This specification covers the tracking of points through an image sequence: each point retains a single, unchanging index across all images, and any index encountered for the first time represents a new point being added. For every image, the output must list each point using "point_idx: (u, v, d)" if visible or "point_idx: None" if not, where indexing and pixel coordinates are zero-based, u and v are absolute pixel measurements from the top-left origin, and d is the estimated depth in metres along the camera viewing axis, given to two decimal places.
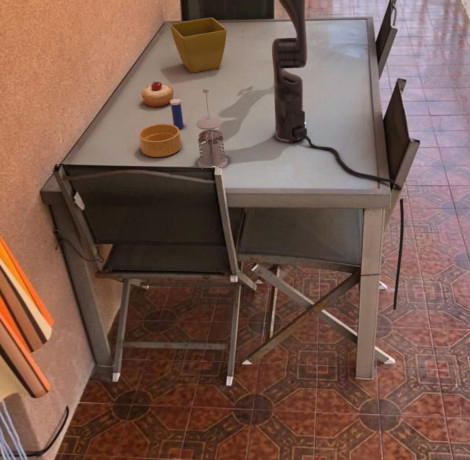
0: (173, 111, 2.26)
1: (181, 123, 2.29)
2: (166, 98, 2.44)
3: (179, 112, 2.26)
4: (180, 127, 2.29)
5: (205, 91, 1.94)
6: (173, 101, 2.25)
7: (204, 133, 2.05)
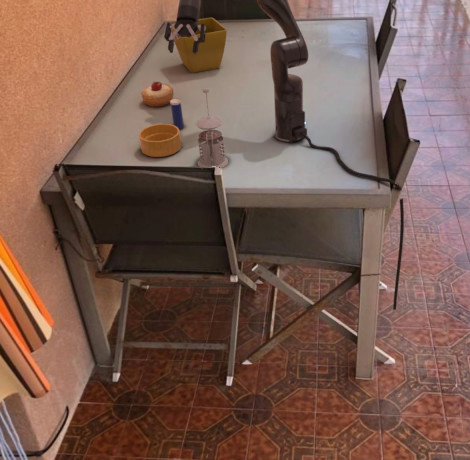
0: (173, 111, 2.26)
1: (181, 123, 2.29)
2: (166, 98, 2.44)
3: (179, 112, 2.26)
4: (180, 127, 2.29)
5: (205, 91, 1.94)
6: (173, 101, 2.25)
7: (204, 133, 2.05)
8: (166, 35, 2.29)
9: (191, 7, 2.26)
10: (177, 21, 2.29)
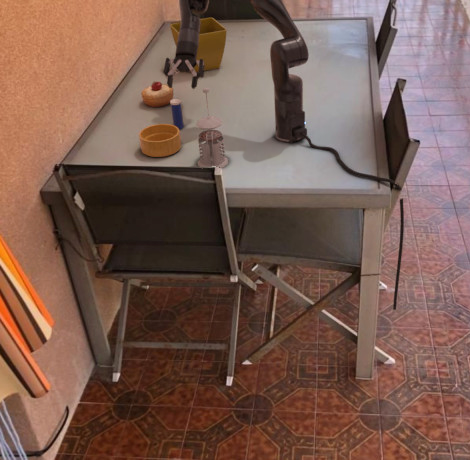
0: (173, 111, 2.26)
1: (181, 123, 2.29)
2: (166, 98, 2.44)
3: (179, 112, 2.26)
4: (180, 127, 2.29)
5: (205, 91, 1.94)
6: (173, 101, 2.25)
7: (204, 133, 2.05)
8: (165, 70, 2.31)
9: (190, 43, 2.29)
10: (176, 56, 2.31)
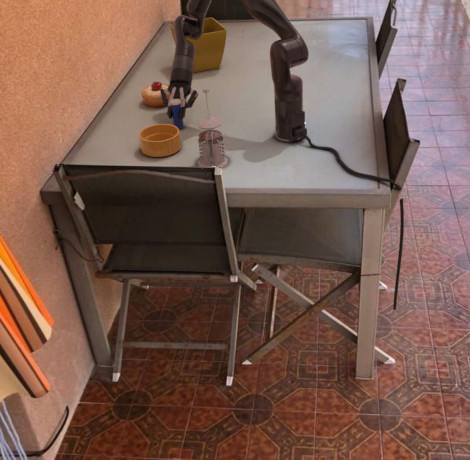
0: (173, 111, 2.26)
1: (181, 123, 2.29)
2: None
3: (179, 112, 2.26)
4: (180, 127, 2.29)
5: (205, 91, 1.94)
6: (173, 101, 2.25)
7: (204, 133, 2.05)
8: (165, 101, 2.27)
9: (184, 70, 2.26)
10: (170, 84, 2.28)
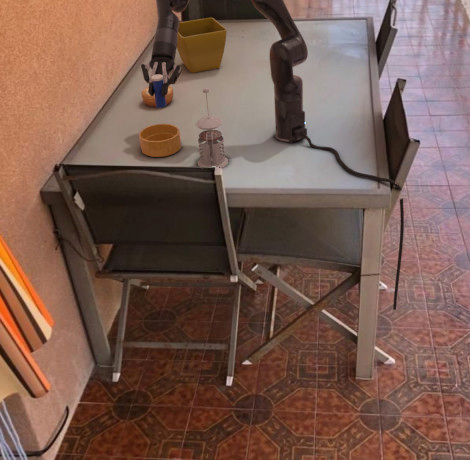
0: (155, 88, 2.09)
1: (164, 101, 2.12)
2: (166, 98, 2.44)
3: (161, 89, 2.09)
4: (162, 105, 2.12)
5: (205, 91, 1.94)
6: (154, 77, 2.08)
7: (204, 133, 2.05)
8: (146, 77, 2.10)
9: (167, 44, 2.09)
10: (152, 58, 2.11)
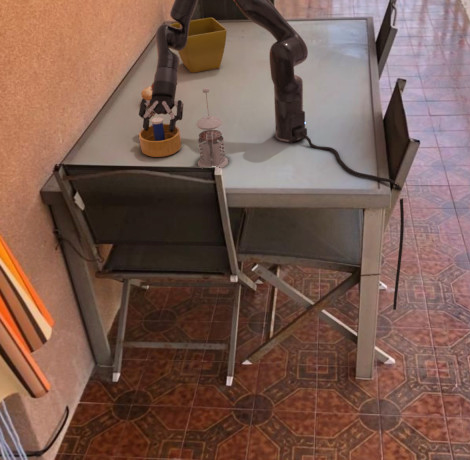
0: (155, 130, 2.13)
1: None
2: None
3: (161, 132, 2.13)
4: None
5: (205, 91, 1.94)
6: (154, 120, 2.12)
7: (204, 133, 2.05)
8: (141, 112, 2.14)
9: (167, 83, 2.12)
10: (152, 97, 2.15)
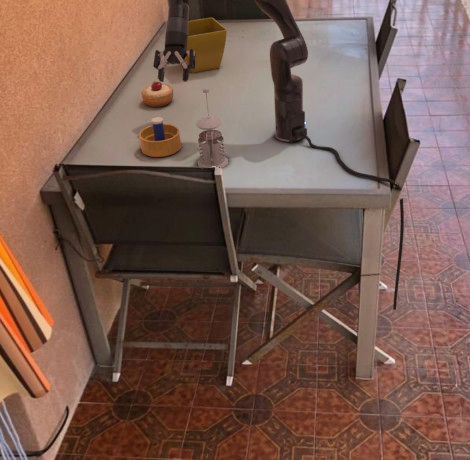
0: (155, 130, 2.13)
1: None
2: (166, 98, 2.44)
3: (161, 132, 2.13)
4: None
5: (205, 91, 1.94)
6: (154, 120, 2.12)
7: (204, 133, 2.05)
8: (155, 64, 2.20)
9: (178, 33, 2.16)
10: (165, 48, 2.19)
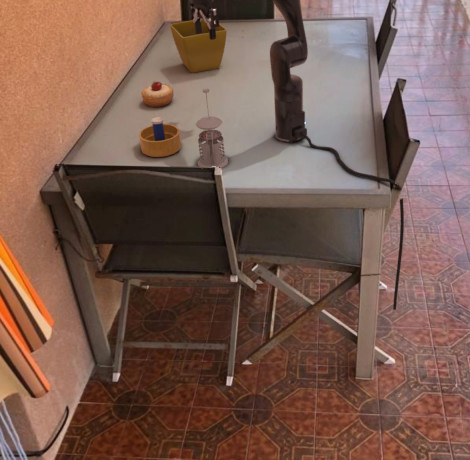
0: (155, 130, 2.13)
1: None
2: (166, 98, 2.44)
3: (161, 132, 2.13)
4: None
5: (205, 91, 1.94)
6: (154, 120, 2.12)
7: (204, 133, 2.05)
8: (191, 17, 2.24)
9: None
10: None
